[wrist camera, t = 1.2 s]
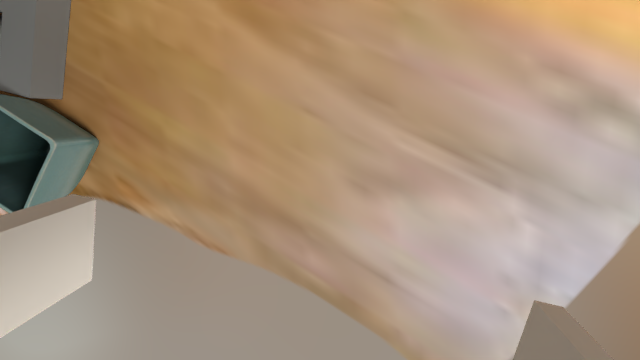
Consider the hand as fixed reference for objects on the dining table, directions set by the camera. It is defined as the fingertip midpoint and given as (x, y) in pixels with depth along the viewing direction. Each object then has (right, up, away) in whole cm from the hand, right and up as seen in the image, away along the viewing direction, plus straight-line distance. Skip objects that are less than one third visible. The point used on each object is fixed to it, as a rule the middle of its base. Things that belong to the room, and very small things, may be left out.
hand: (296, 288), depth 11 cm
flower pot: (-27, +7, +30) cm, 42 cm away
